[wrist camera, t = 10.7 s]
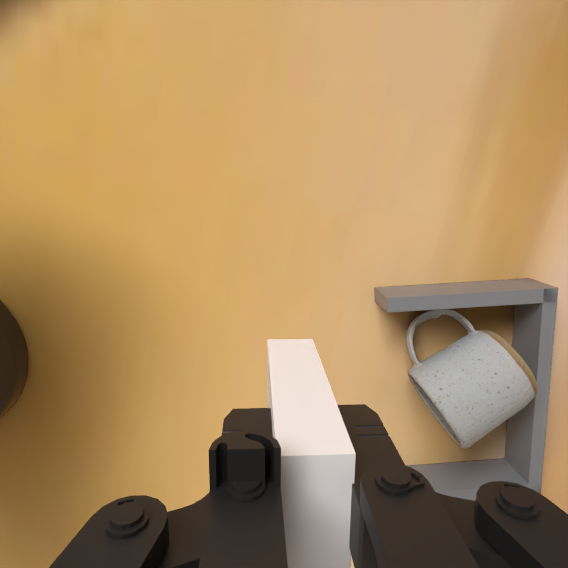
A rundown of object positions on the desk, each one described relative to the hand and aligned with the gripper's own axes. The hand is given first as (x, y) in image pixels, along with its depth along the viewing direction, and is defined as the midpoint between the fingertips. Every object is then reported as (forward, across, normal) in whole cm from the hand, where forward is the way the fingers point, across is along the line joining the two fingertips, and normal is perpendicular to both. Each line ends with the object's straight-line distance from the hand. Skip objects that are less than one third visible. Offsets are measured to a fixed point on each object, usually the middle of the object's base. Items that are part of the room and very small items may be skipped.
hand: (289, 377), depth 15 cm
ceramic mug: (+25, +16, -9) cm, 31 cm away
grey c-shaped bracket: (+24, +16, -12) cm, 32 cm away
